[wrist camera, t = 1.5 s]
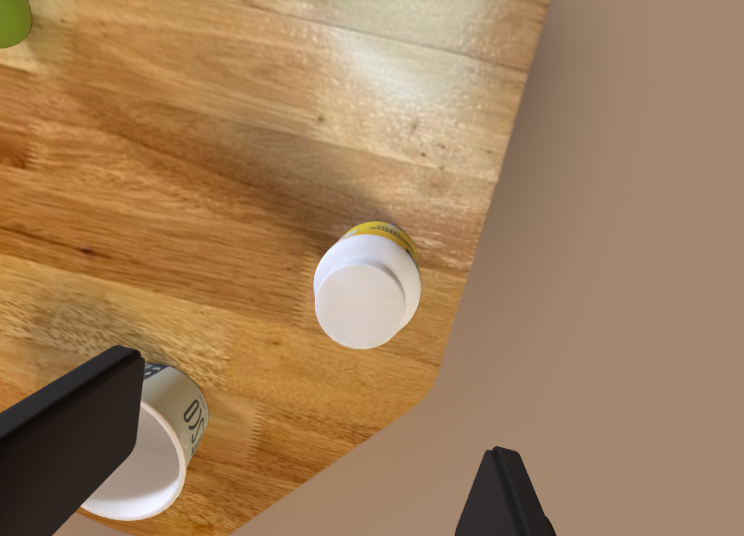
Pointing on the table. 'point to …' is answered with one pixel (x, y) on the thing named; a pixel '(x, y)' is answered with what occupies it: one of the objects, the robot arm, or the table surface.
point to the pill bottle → (367, 285)
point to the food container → (155, 448)
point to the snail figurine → (14, 22)
